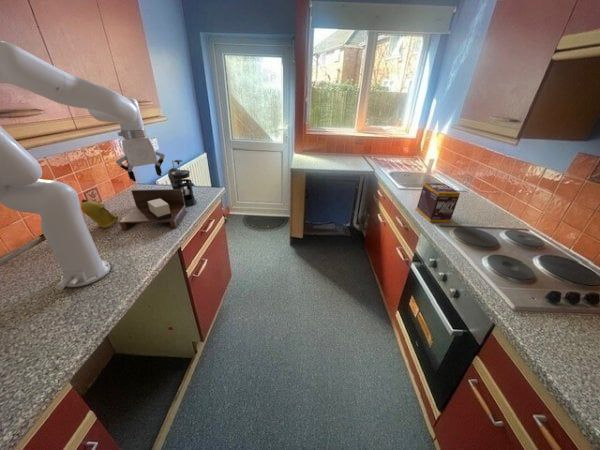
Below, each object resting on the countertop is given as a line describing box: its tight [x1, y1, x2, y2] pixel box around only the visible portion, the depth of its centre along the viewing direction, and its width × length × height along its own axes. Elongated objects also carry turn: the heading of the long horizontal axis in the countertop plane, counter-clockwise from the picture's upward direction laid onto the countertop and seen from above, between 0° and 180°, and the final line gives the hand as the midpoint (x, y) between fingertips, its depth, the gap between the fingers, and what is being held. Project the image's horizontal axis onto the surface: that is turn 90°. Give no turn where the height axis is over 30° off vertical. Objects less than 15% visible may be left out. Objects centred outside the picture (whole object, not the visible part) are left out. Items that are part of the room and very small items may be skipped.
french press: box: [171, 159, 197, 207], centre depth 127 cm, size 12×9×23 cm
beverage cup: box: [167, 160, 183, 190], centre depth 138 cm, size 7×7×20 cm
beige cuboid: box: [147, 198, 172, 220], centre depth 111 cm, size 12×5×6 cm, turn 47°
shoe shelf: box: [119, 188, 187, 231], centre depth 112 cm, size 17×22×12 cm
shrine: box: [80, 199, 119, 229], centre depth 105 cm, size 12×8×15 cm
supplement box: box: [416, 182, 461, 223], centre depth 125 cm, size 10×15×16 cm
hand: (146, 177), depth 102 cm, fingers open, 9 cm apart
